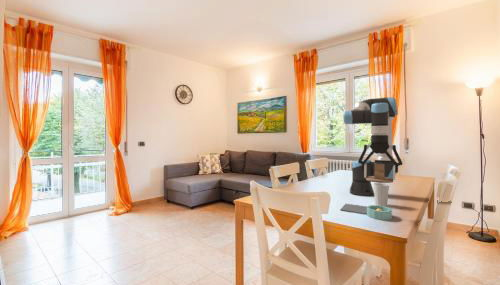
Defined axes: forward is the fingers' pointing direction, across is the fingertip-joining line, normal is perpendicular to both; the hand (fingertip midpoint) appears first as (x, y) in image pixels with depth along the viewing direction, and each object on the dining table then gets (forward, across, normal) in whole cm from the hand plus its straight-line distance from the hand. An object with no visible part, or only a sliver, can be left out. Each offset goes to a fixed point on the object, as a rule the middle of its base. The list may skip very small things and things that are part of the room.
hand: (379, 178), depth 120 cm
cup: (+19, -1, +22) cm, 29 cm away
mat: (+19, -12, +6) cm, 23 cm away
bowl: (+19, 0, 0) cm, 19 cm away
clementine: (+17, 0, 0) cm, 17 cm away
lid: (+1, 0, 0) cm, 1 cm away
